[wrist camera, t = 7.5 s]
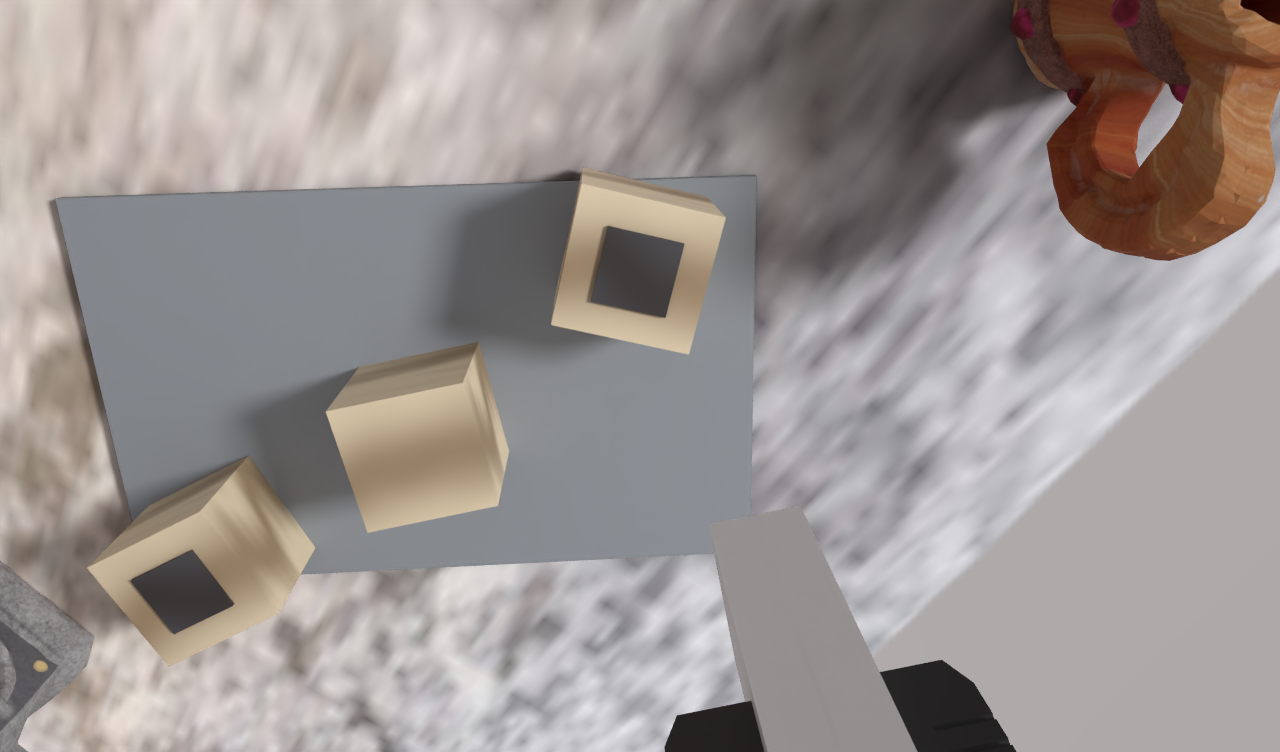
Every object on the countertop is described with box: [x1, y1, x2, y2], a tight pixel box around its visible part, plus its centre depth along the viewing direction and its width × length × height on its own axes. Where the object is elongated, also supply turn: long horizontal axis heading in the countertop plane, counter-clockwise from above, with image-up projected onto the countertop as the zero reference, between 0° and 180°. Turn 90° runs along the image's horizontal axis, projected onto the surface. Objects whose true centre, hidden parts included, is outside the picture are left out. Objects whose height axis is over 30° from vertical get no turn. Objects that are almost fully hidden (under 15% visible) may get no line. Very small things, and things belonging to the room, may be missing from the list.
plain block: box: [326, 342, 509, 533], centre depth 42 cm, size 6×6×6 cm
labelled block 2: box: [551, 167, 726, 355], centre depth 40 cm, size 6×6×6 cm
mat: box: [55, 175, 757, 574], centre depth 45 cm, size 20×32×1 cm, turn 91°
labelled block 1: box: [87, 456, 315, 666], centre depth 43 cm, size 6×6×6 cm
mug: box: [1010, 0, 1280, 261], centre depth 34 cm, size 15×8×15 cm, turn 167°
